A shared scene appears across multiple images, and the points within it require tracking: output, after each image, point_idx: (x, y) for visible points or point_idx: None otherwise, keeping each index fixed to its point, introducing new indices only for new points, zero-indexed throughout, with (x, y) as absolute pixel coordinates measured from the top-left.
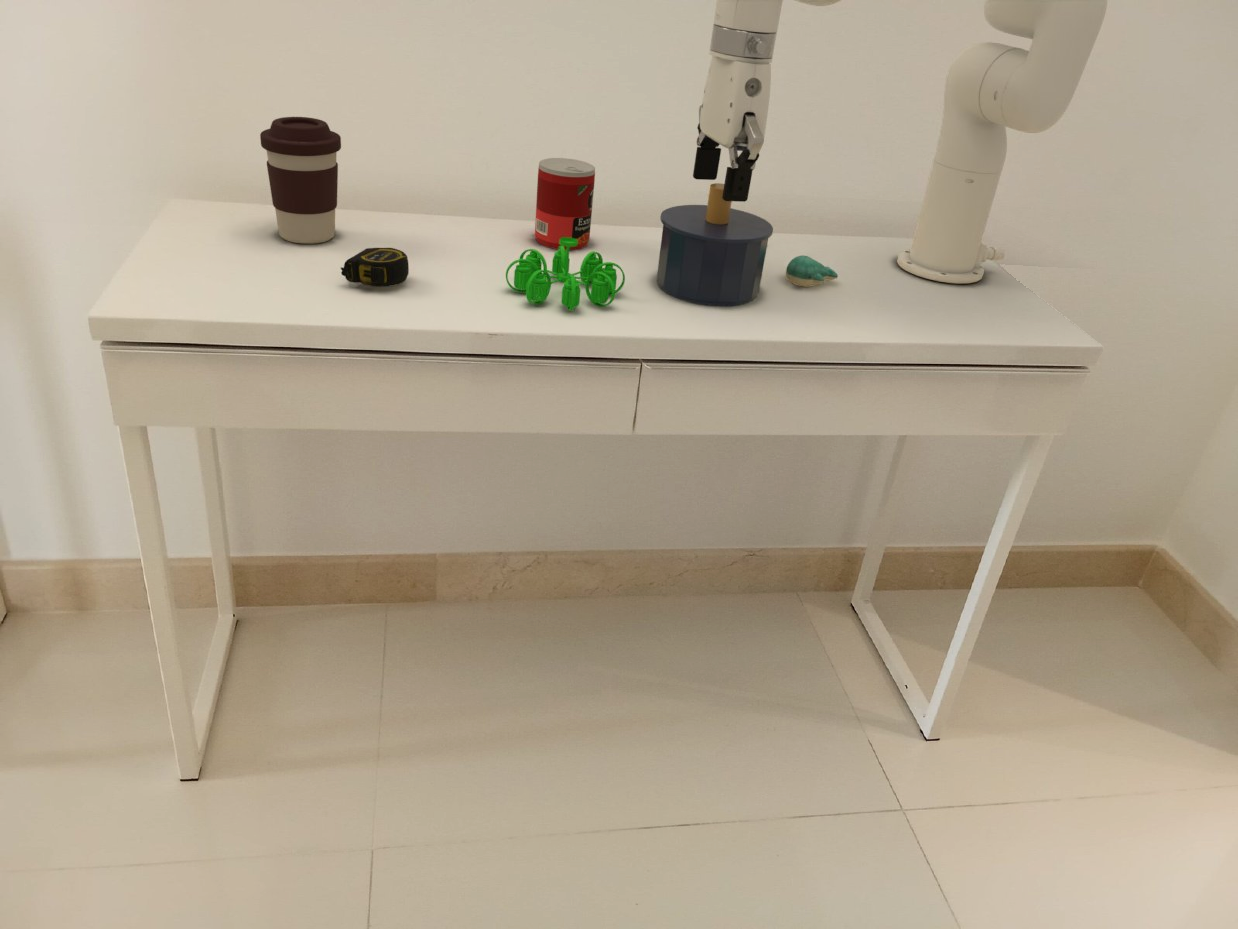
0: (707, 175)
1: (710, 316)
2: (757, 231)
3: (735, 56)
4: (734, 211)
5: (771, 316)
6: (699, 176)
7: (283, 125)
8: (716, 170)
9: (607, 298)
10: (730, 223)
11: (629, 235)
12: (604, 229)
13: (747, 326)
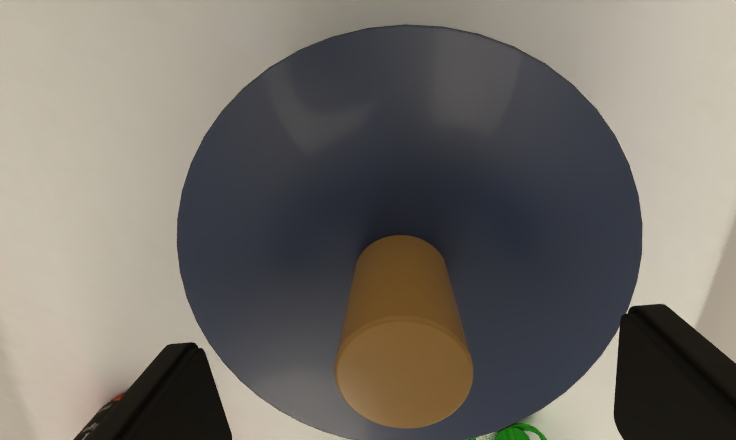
0: (209, 405)
1: None
2: (537, 139)
3: None
4: (240, 159)
5: (607, 74)
6: (222, 435)
7: None
8: (176, 383)
9: (524, 435)
10: (423, 228)
11: (54, 293)
12: (33, 338)
13: (661, 164)
